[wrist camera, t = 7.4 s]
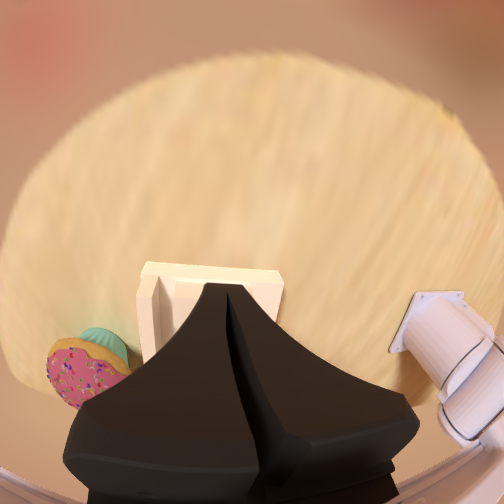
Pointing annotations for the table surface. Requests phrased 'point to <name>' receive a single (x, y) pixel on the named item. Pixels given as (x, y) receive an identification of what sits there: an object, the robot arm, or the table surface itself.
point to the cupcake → (87, 365)
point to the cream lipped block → (192, 296)
